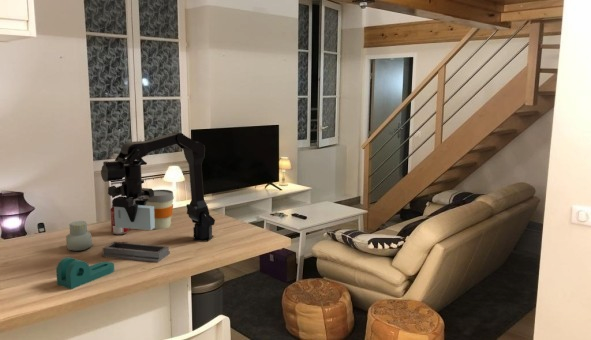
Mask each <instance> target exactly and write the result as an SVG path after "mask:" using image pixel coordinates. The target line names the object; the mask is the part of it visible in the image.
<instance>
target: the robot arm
mask: <svg viewBox="0 0 591 340" xmlns="http://www.w3.org/2000/svg"><path fill="white" fill-rule="evenodd" d="M174 145H176V146H177V147H179V148H180V149H181V150H183V154H184V158H185V160H186V162H187V164H188V169H189V170H188V171H189V183H190V184H189V185H190V196H191V197H190V198H191V199H190V203H187V204H186V215H187V216H188V218H189V219H191V221H192V223H193V224H194V226H193V238H192V241H201V242H209V241H211V239H212V238H214V234H213V226H214V225H215V222H216V219H215V218H214V217H212V215H210V211H209V210H210V209H209V207H208V205H207V203H206V201H205V197H204V195H205V194H204V182H203V167H202V164H203V161H204V159H205V153H206V147H205V145H204V144H203V143H202V142H200V141H196V140H193V139H192V138H190V137H189V136H187V135H185V134H184V133H182V132H179V131H173V132H172V133H168V134H165V135H162V136H158V137H154V138H152V139H148V140H143V141H142V140H140V141H139V140H138V141H137V140H136V141H126V142H124V143H123V144H122V145H121V148H120V152H119V153H118V155H117V156H116V158H115V160H112V161H111V160H110V161H108V160H107V161H103V162H102V167H101V170H100V175H101V178H102V180H103V182H112V181H113V182H114V181H120V180H123V179H124V180H123V181H122V182H121V185H119V186H116V185H112V186H108V188H107V194H108V196H110V197H112V200H111V207H112V206H113V207H124V208H125V210H126V212H127V214H128V216H129V219H130V221H131V222H134V220H135V217H136V212H137V208H138V205H144V206H145V205H146V203H147V201H148V199H145V197H144V196H145V195H146V196H149V197H153V196H154V191H153V190H154V189H152V188H148V187H143V184H145V180H144V179H143V178H142V166H146V165H147V164H148V162H147V161H145V160H144V159H143V158H145V157H146V156H148V154H150V153H152V152H154V151H159V150H162V149H165V148H167V147H171V146H174Z"/></svg>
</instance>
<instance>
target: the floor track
mask: <svg viewBox="0 0 591 340" xmlns="http://www.w3.org/2000/svg"><path fill="white" fill-rule="evenodd" d="M169 248H170V246H166V245H155V244H144V243H135V242H125V241H112V242H110V243H109V244H107V245H106V246H104V247H102V253H101V257H104V258H111V259H122V260H123V259H125V260H133V261H143V262H151V263H160V262H161V261H162V260H163V259H165V258H166V257H168V256H169V255H170V254H171V251H170V249H169Z"/></svg>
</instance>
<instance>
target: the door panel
mask: <svg viewBox="0 0 591 340" xmlns="http://www.w3.org/2000/svg"><path fill="white" fill-rule="evenodd" d="M114 214H115V227H120V228H129V229H135V230H146V231H152V230H155V229H154V228H155V218H154V206H144V205H138V208H137V212H136V217H135V220H134V222H131V221H130V219H129V216H128V214H127V212H126V210H125V208H124V207H114Z"/></svg>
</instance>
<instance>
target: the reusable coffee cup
mask: <svg viewBox="0 0 591 340" xmlns="http://www.w3.org/2000/svg"><path fill="white" fill-rule="evenodd" d="M152 190H153V191H154V196H153V197H149V196H146V195H145V196H144V197H145V199H148V201H147V203H146V205H145V206H154V218H155V228H154V229H153V230H163V229H164V230H165V229H168V228H170V227H171V221H172V216H173V213H174V211H173V210H174V197H175V196H174V192H173V191H172V190H170V189H152Z"/></svg>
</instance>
